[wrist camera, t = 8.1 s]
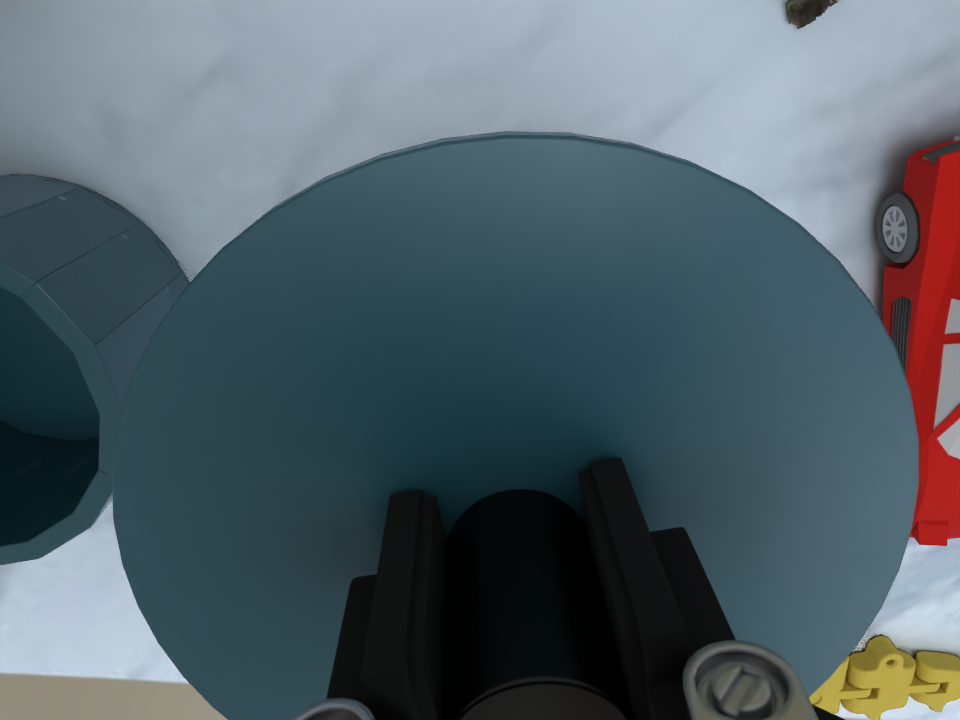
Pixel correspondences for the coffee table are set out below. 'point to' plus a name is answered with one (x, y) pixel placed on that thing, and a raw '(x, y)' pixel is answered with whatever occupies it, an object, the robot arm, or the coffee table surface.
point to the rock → (806, 10)
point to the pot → (68, 351)
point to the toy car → (928, 324)
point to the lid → (510, 422)
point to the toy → (889, 680)
